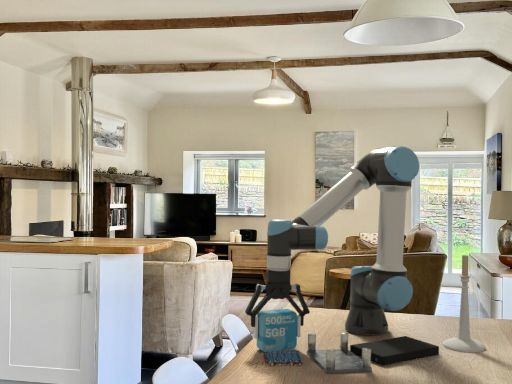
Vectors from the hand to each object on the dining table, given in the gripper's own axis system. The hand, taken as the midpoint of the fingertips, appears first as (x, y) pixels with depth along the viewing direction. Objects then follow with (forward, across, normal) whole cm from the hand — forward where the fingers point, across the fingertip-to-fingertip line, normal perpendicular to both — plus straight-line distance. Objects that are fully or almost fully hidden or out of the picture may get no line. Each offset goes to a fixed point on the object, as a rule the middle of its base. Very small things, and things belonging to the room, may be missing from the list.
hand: (276, 336), depth 179 cm
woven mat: (+5, +1, +12) cm, 13 cm away
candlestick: (+3, -60, +7) cm, 61 cm away
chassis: (+4, -14, +16) cm, 22 cm away
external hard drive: (+4, -34, +11) cm, 36 cm away
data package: (+4, 0, 0) cm, 4 cm away
